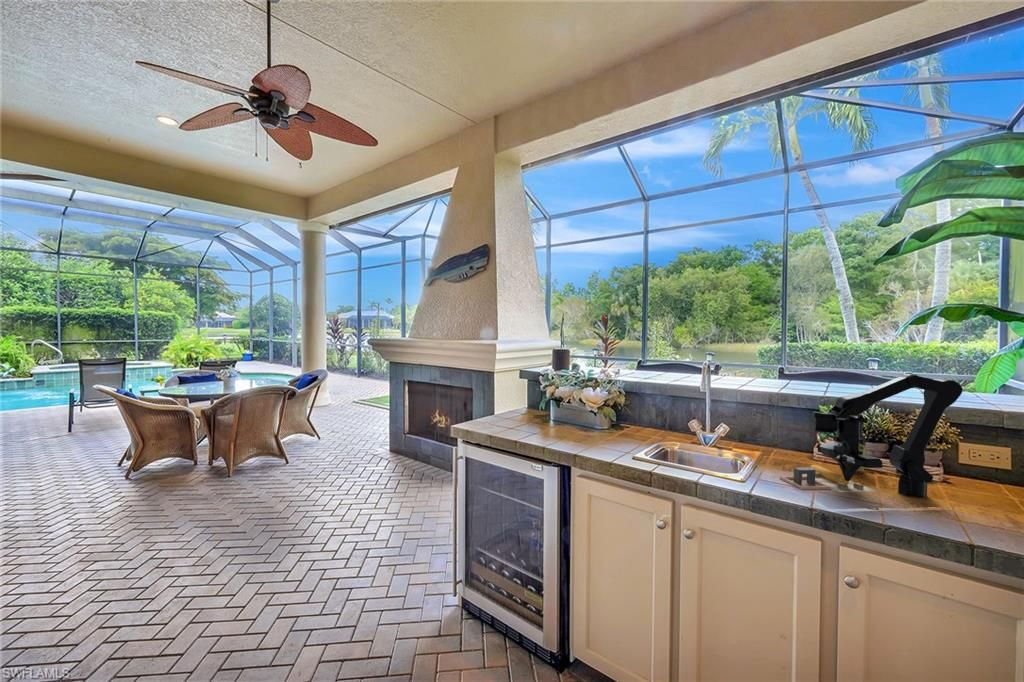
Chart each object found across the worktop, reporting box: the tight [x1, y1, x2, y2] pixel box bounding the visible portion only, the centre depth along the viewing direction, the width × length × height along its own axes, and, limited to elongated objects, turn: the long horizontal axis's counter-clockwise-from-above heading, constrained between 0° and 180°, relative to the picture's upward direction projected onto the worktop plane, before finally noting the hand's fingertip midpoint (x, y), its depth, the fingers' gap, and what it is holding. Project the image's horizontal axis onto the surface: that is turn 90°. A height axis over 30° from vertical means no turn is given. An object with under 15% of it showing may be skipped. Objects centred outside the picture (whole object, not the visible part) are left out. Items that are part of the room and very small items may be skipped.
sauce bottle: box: [855, 422, 867, 474], centre depth 152 cm, size 7×6×20 cm
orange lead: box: [809, 464, 849, 485], centre depth 143 cm, size 15×3×3 cm, turn 4°
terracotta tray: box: [779, 475, 832, 491], centre depth 138 cm, size 10×10×2 cm
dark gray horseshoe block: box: [793, 467, 816, 486], centre depth 138 cm, size 6×2×5 cm, turn 94°
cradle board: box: [802, 472, 878, 493], centre depth 140 cm, size 17×13×2 cm
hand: (847, 480), depth 136 cm, fingers closed
